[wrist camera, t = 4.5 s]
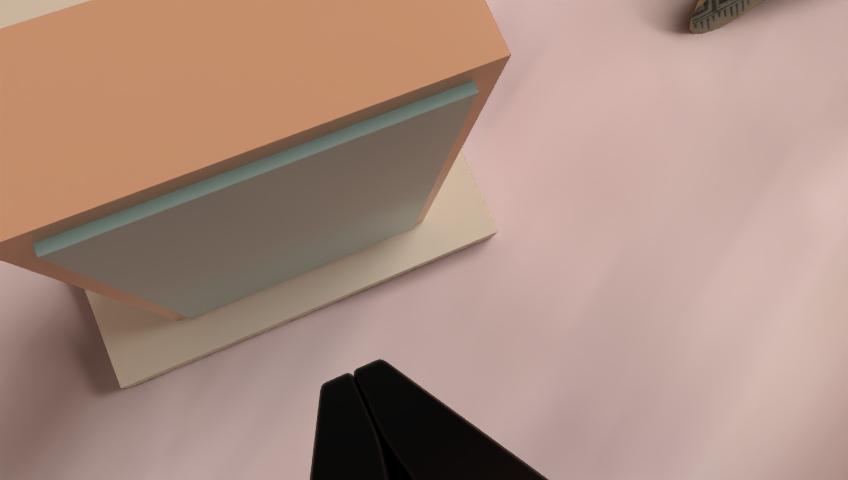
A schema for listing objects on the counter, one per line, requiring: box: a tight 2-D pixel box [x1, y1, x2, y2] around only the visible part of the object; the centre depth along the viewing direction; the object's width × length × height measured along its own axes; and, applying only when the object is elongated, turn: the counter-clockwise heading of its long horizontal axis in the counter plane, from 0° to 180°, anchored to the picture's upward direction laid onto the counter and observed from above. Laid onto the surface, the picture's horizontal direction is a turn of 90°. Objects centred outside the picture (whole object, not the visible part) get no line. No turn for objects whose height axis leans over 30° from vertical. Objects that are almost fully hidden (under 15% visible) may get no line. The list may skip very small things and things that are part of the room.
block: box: [0, 0, 511, 321], centre depth 12 cm, size 2×6×9 cm, turn 114°
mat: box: [0, 0, 498, 388], centre depth 17 cm, size 12×9×1 cm
